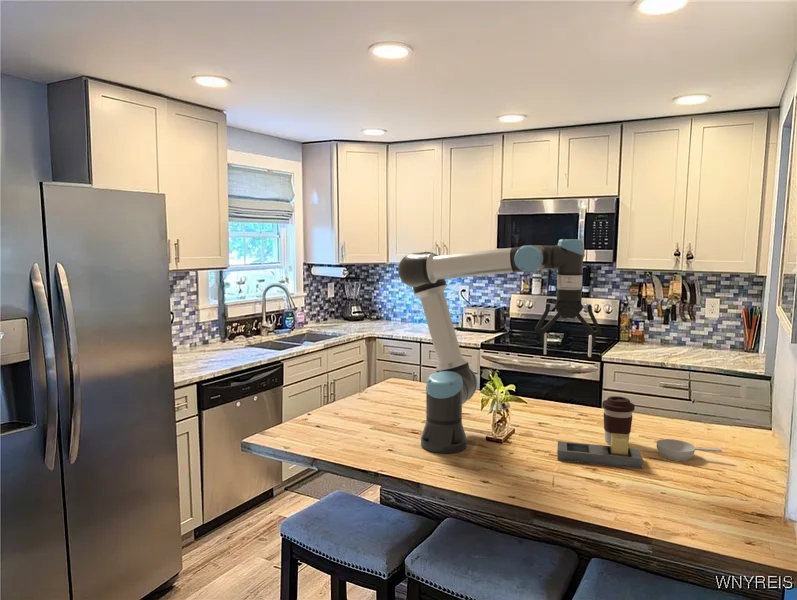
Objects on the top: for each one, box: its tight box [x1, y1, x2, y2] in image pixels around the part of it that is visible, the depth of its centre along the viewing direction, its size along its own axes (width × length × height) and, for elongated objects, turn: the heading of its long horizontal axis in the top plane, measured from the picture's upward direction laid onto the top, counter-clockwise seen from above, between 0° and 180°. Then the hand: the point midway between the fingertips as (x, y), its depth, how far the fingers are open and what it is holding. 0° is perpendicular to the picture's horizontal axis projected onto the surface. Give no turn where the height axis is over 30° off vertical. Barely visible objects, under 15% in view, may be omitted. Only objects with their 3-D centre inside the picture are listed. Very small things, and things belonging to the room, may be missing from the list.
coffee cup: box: [601, 395, 636, 446], centre depth 182 cm, size 10×10×15 cm
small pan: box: [656, 438, 723, 462], centre depth 171 cm, size 11×18×4 cm, turn 68°
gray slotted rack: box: [556, 440, 644, 470], centre depth 169 cm, size 24×8×3 cm, turn 74°
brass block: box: [610, 433, 630, 456], centre depth 167 cm, size 4×4×8 cm
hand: (567, 355), depth 175 cm, fingers open, 13 cm apart
